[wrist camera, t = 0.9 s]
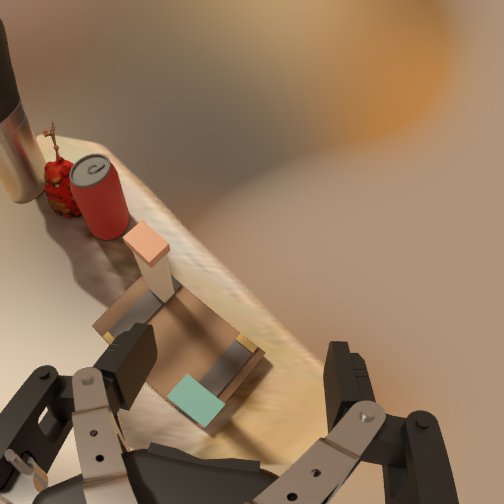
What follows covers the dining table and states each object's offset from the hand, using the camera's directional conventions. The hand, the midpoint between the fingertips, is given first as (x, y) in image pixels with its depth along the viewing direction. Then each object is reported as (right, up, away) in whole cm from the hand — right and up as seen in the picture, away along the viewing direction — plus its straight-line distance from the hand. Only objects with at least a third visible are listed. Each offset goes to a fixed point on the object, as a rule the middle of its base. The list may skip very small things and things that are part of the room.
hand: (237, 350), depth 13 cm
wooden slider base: (-9, -7, +22) cm, 25 cm away
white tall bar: (-11, 0, +23) cm, 25 cm away
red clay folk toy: (-29, +12, +30) cm, 43 cm away
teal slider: (-5, -12, +17) cm, 22 cm away
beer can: (-21, +9, +29) cm, 37 cm away
